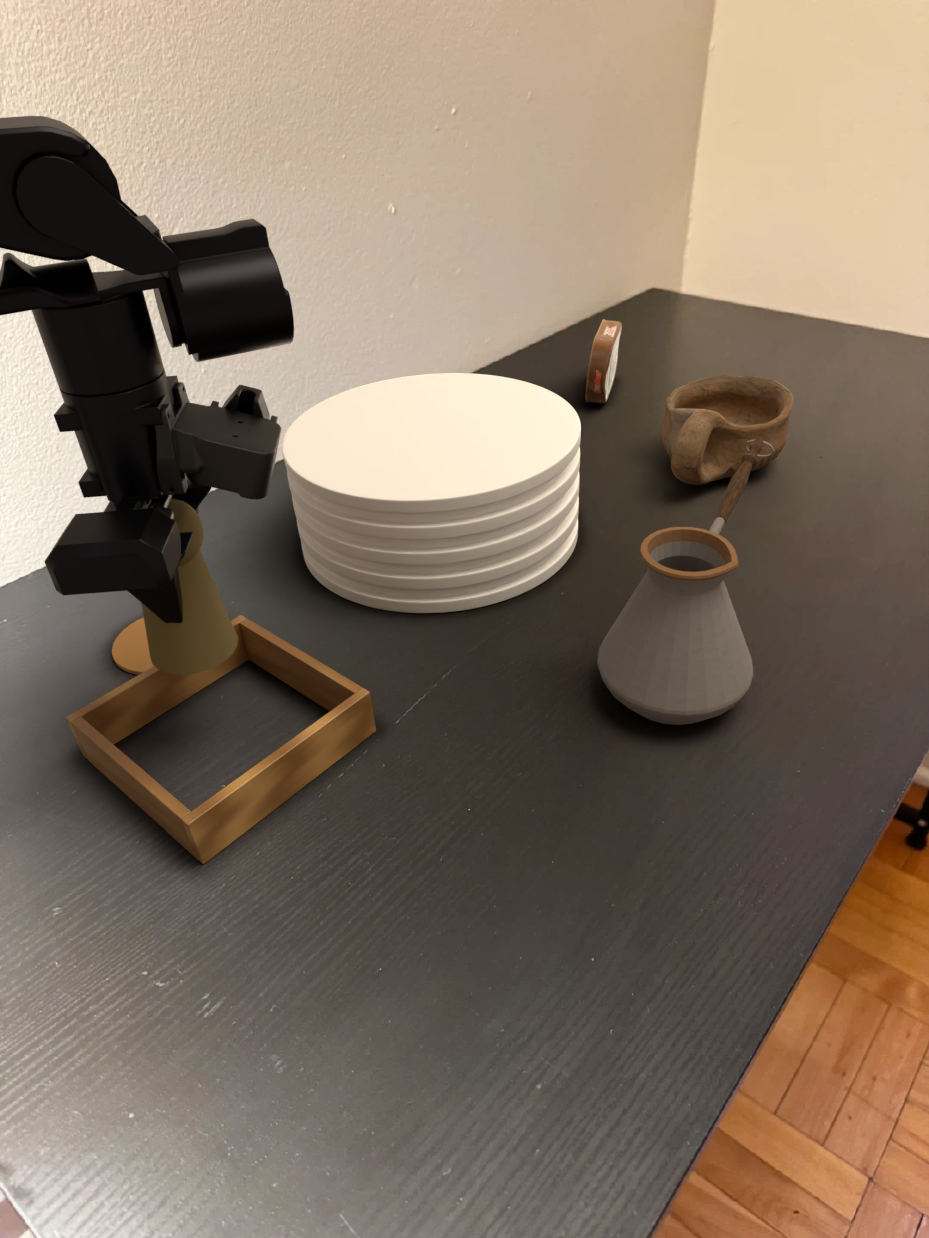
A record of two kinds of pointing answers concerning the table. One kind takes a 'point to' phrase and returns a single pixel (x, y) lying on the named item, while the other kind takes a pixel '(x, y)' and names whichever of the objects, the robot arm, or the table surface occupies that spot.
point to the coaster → (132, 649)
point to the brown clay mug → (723, 425)
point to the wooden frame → (257, 786)
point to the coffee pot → (682, 623)
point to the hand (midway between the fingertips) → (182, 602)
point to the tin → (603, 361)
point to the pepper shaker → (191, 612)
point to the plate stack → (435, 490)
